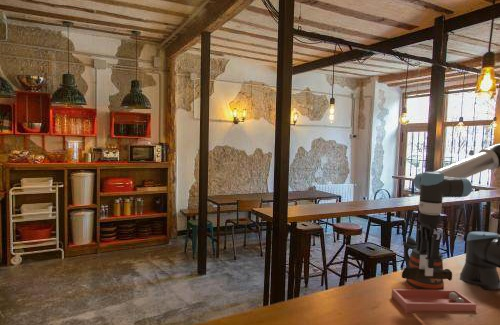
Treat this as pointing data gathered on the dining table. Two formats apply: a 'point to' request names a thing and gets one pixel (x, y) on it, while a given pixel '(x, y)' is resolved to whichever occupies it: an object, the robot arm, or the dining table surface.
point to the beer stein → (414, 262)
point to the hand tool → (420, 273)
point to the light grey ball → (453, 296)
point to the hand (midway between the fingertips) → (425, 273)
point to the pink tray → (430, 300)
